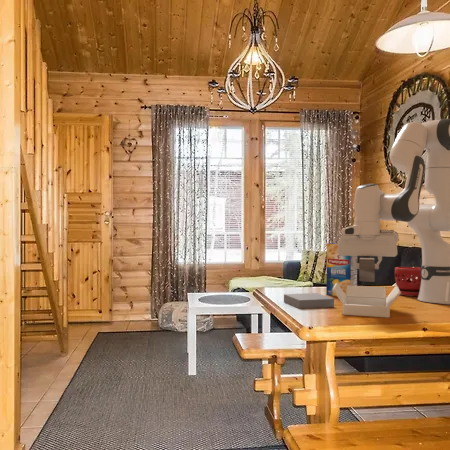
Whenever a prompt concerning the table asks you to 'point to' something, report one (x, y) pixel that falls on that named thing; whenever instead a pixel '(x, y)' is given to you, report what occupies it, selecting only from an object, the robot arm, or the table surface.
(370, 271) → the walnut block
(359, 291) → the carton
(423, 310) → the table surface
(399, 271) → the plant pot
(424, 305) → the table surface
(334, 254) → the blue cardboard box
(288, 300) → the slate platform
